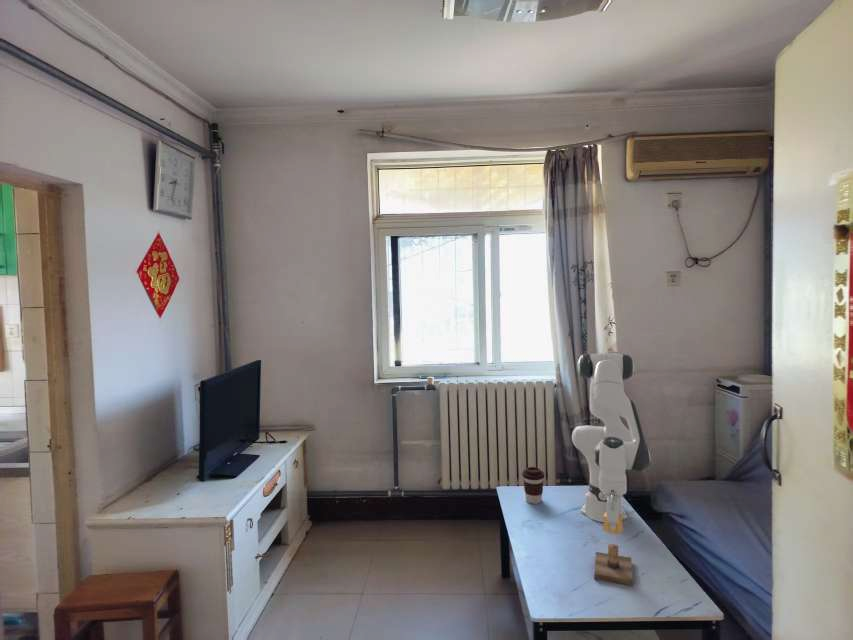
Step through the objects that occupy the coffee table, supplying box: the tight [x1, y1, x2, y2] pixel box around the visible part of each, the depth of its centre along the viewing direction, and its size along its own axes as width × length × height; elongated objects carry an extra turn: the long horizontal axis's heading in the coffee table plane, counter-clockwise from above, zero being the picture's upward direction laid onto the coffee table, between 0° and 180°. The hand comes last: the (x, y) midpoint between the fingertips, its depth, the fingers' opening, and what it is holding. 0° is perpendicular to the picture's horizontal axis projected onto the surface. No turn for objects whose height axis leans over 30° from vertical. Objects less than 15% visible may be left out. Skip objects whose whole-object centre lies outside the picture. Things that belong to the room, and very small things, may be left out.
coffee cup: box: [522, 466, 545, 505], centre depth 222 cm, size 10×10×15 cm
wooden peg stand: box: [593, 543, 634, 587], centre depth 167 cm, size 14×12×9 cm
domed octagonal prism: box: [603, 512, 624, 535], centre depth 166 cm, size 6×6×5 cm
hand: (613, 524), depth 166 cm, fingers closed on domed octagonal prism, 6 cm apart
